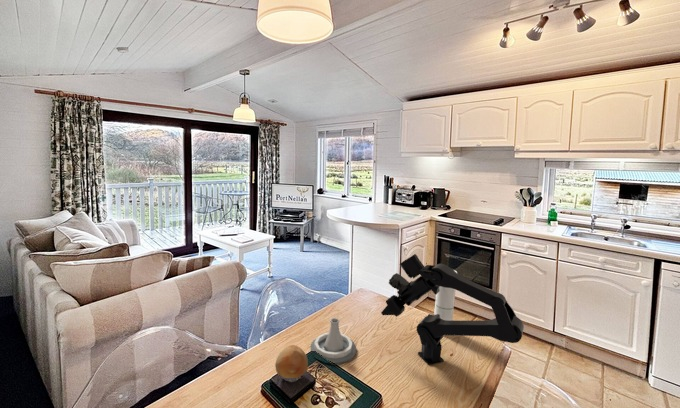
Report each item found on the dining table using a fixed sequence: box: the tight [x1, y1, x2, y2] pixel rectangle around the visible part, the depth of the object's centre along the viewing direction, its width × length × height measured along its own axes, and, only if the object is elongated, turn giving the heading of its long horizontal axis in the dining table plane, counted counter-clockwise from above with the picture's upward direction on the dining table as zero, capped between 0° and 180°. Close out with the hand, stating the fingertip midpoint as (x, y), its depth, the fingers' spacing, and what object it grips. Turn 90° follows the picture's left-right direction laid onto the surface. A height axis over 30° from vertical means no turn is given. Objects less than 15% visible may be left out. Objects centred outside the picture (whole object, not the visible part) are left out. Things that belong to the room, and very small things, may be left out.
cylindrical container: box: [433, 269, 458, 321], centre depth 124 cm, size 7×7×25 cm
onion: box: [274, 344, 309, 378], centre depth 94 cm, size 10×10×10 cm
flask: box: [323, 317, 344, 352], centre depth 109 cm, size 7×7×10 cm
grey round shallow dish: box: [310, 332, 357, 365], centre depth 109 cm, size 16×16×3 cm
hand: (387, 309), depth 115 cm, fingers open, 9 cm apart
